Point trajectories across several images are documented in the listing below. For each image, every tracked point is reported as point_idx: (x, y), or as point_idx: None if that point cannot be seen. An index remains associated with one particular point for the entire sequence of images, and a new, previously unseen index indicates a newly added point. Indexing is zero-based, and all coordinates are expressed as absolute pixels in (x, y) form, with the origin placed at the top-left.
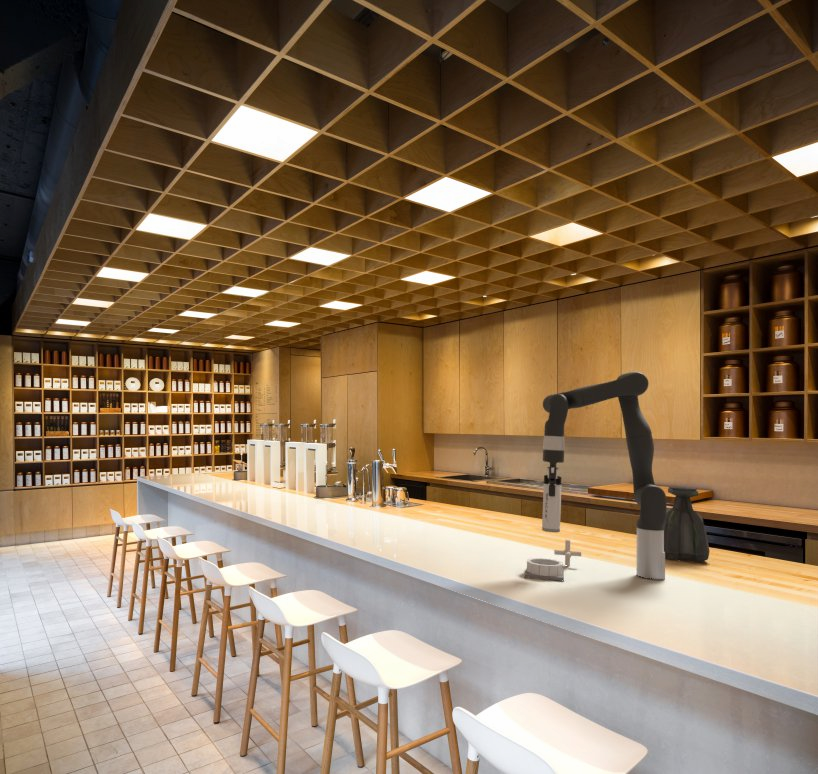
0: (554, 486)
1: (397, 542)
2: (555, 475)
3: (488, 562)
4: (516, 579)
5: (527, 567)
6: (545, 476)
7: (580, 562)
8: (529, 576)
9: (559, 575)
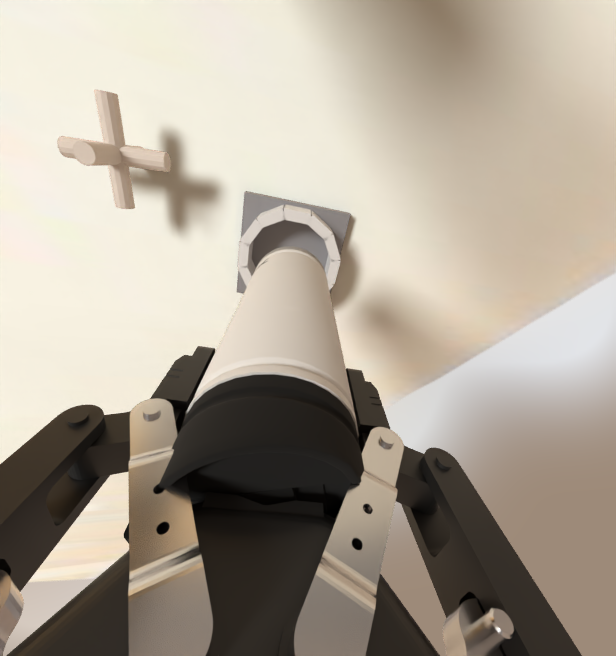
0: (374, 428)
1: None
2: (512, 557)
3: None
4: (345, 322)
5: None
6: None
7: (32, 77)
8: None
9: (323, 221)
